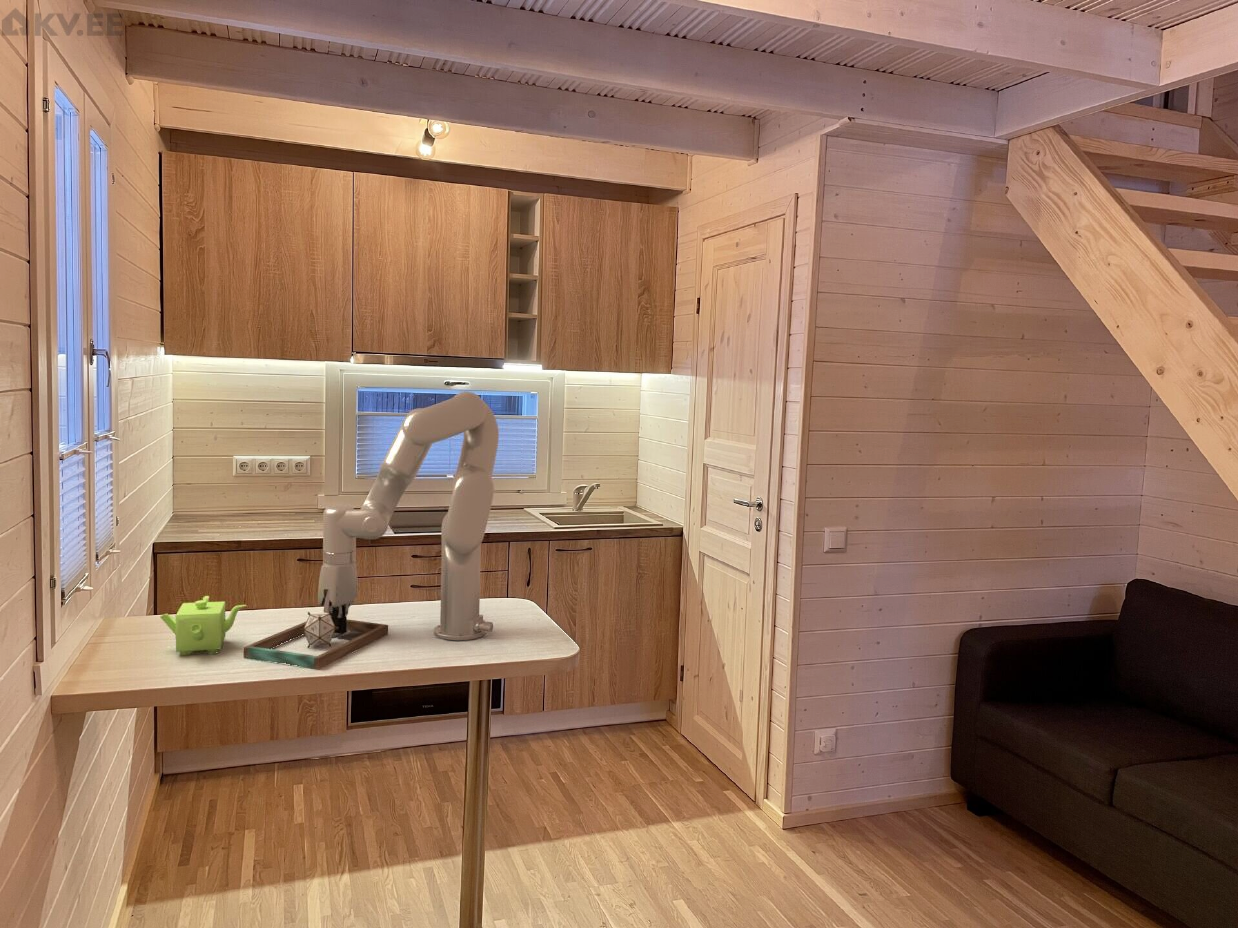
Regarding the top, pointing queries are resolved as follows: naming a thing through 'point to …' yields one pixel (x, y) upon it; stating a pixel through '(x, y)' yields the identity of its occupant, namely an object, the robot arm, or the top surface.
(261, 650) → the shallow open wooden box
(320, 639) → the game die
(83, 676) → the top surface
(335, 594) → the robot arm
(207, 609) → the kettle
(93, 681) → the top surface
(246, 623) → the top surface
